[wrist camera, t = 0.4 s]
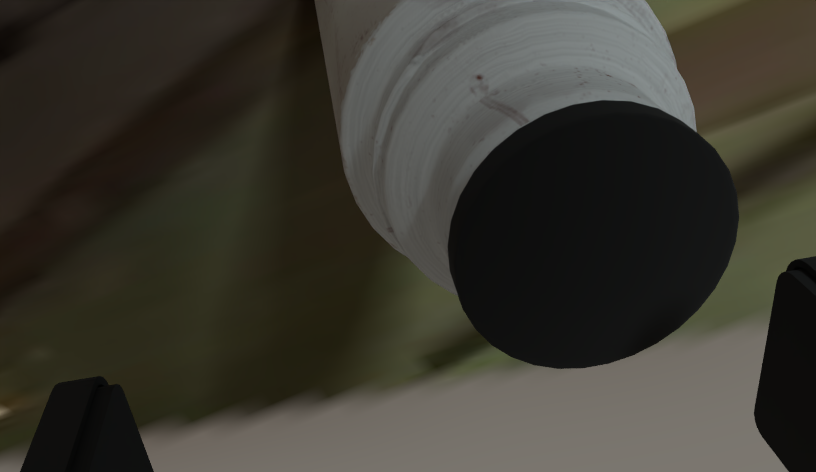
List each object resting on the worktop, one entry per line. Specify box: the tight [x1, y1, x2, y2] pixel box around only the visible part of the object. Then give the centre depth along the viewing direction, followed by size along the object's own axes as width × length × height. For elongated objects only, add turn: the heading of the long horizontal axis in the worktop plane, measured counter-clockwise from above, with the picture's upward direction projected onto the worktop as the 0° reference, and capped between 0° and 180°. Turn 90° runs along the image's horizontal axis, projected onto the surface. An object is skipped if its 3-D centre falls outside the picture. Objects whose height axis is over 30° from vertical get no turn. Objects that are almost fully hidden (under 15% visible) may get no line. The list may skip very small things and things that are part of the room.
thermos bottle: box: [315, 0, 739, 369], centre depth 25 cm, size 8×8×28 cm
